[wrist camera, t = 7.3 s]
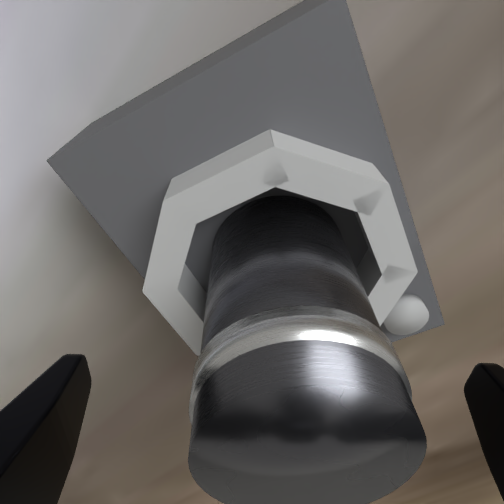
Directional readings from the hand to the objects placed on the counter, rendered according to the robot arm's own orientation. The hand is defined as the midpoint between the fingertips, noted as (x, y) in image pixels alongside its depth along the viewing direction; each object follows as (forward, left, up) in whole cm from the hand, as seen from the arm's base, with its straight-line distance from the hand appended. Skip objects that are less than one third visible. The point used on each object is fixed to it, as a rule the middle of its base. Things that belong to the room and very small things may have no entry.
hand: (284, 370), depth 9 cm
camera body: (0, 0, -9) cm, 9 cm away
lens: (0, 0, -5) cm, 5 cm away
